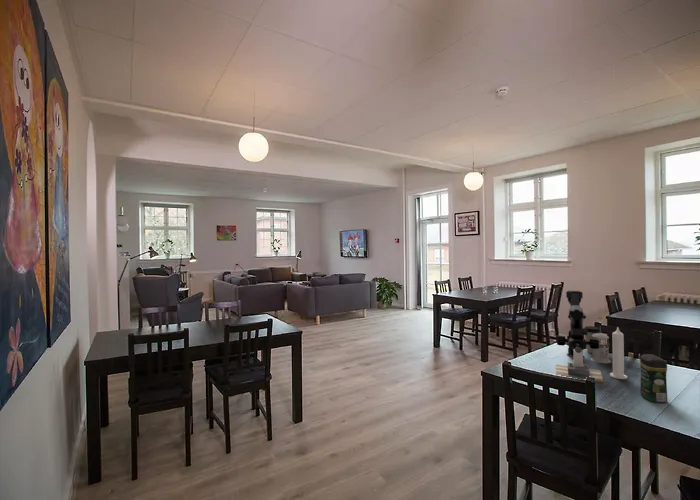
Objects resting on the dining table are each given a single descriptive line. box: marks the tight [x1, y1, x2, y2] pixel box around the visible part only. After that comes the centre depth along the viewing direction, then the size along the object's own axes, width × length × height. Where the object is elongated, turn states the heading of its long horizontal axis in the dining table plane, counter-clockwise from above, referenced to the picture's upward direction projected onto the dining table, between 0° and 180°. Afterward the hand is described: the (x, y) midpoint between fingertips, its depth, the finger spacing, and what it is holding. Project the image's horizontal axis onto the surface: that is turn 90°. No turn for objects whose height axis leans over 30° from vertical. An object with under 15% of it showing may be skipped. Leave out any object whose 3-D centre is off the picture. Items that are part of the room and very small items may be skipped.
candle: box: [609, 326, 628, 380], centre depth 182 cm, size 7×7×25 cm
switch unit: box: [555, 361, 604, 384], centre depth 186 cm, size 16×20×5 cm
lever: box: [572, 347, 584, 367], centre depth 184 cm, size 3×4×11 cm
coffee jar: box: [639, 353, 668, 404], centre depth 156 cm, size 10×8×19 cm
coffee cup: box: [584, 325, 603, 354], centre depth 221 cm, size 9×9×15 cm
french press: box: [590, 316, 612, 364], centre depth 206 cm, size 10×12×25 cm
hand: (578, 356), depth 185 cm, fingers closed, pressing on lever
